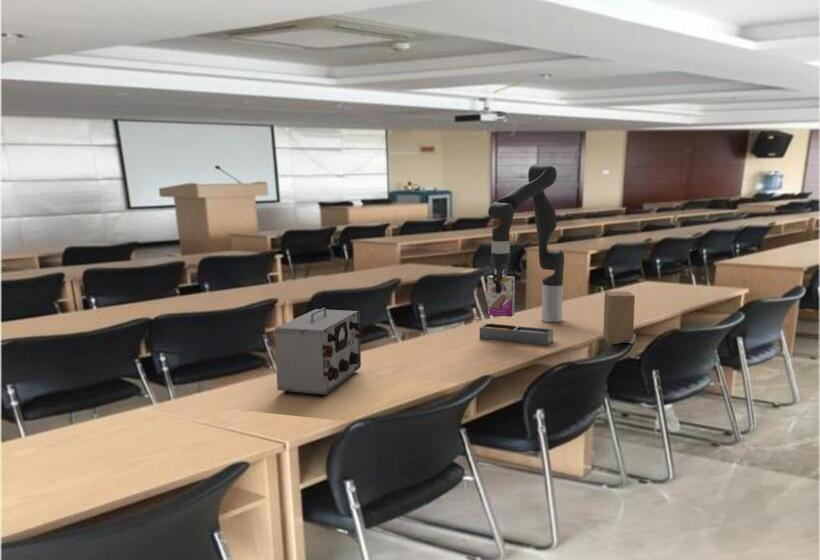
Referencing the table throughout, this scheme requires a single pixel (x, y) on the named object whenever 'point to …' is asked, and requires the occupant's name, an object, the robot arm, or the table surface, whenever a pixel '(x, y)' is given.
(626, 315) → the wooden block
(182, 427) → the table surface
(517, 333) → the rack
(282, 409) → the table surface
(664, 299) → the table surface
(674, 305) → the table surface
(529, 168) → the robot arm
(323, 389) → the vintage electronic device
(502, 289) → the candy bar box
